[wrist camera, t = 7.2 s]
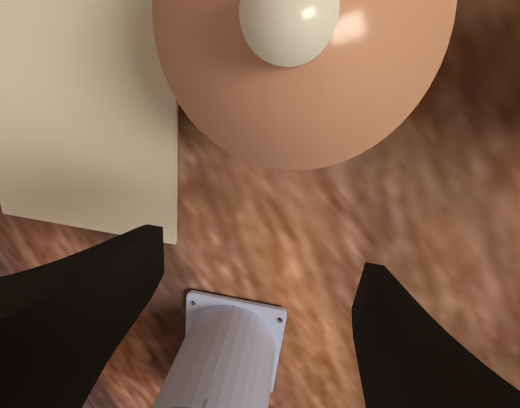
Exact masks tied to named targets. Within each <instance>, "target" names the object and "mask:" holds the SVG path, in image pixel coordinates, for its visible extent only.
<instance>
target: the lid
mask: <svg viewBox="0 0 520 408" xmlns="http://www.w3.org/2000/svg"><path fill="white" fill-rule="evenodd" d="M456 6H457V0H152V18H153V32H154V37H155V43H156V49H157V53H158V57H159V60H160V63H161V67H162V70H163V73H164V75H165V78H166V80H167V82H168V85H169V87H170V89H171V91H172V93H173V95H174V96H175V98H176V100H177V102H178V104H179V105H180V107H181V108H182V109H183V111H184V112H185V114H186V115H187V117H188V118H189V119H190V120H191V121H192V123H193V124H194V125H195V126H196V127H197V128H198V129H199V130H200V131H201V132H202V133H203V134H204V135H205V136H206V137H207V138H209V139H210V140H211V141H212V142H213V143H214V144H216V145H217V146H219V147H220V148H222V149H223V150H225V151H226V152H228V153H230V154H232V155H234V156H235V157H237V158H239V159H241V160H244V161H246V162H249V163H252V164H255V165H257V166H262V167H266V168H271V169H277V170H288V171H298V170H311V169H318V168H324V167H327V166H331V165H334V164H338V163H341V162H343V161H346V160H348V159H351V158H353V157H355V156H357V155H359V154H361V153H363V152H365V151H366V150H368V149H370V148H372V147H373V146H375V145H376V144H377V143H379V142H380V141H381V140H383V139H384V138H385V137H387V136H388V135H389V134H390V133H392V132H393V131H394V130H395V129H396V128H397V127H398V126H399V125H400V124H401V123H402V122H403V121H404V120H405V119H406V118H407V117H408V116H409V114H410V113H411V112H412V111H413V110H414V108H415V107H416V106H417V105H418V103H419V102H420V100H421V99H422V97H423V96H424V95H425V93H426V92H427V90H428V89H429V87H430V85H431V83H432V81H433V79H434V77H435V76H436V74H437V72H438V70H439V68H440V66H441V63H442V60H443V58H444V55H445V53H446V50H447V47H448V44H449V41H450V37H451V33H452V29H453V25H454V20H455V13H456Z"/></svg>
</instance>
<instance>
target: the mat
mask: <svg viewBox="0 0 520 408" xmlns="http://www.w3.org/2000/svg"><path fill="white" fill-rule="evenodd" d="M0 204H1V208H2V212H3V214H7V215H13V216H19V217H24V218H30V219H35V220H41V221H46V222H52V223H58V224H63V225H69V226H74V227H80V228H85V229H91V230H97V231H102V232H108V233H113V234H119V235H121V234H123V233H126V232H128V231H130V230H133V229H135V228H137V227H140V226H143V225H146V224H149V225H155V226H161V227H163V243H169V244H176V243H177V206H178V102H177V100H176V98H175V96H174V95H173V93H172V91H171V89H170V87H169V85H168V82H167V80H166V78H165V75H164V73H163V70H162V67H161V63H160V60H159V57H158V53H157V49H156V43H155V37H154V32H153V18H152V0H0Z"/></svg>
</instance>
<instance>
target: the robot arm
mask: <svg viewBox="0 0 520 408" xmlns="http://www.w3.org/2000/svg"><path fill="white" fill-rule="evenodd" d="M163 274H164V247H163V227H161V226H155V225H149V224H146V225H143V226H140V227H137V228H135V229H133V230H130V231H128V232H126V233H123V234H121V235H119V236H117V237H114V238H112V239H110V240H107V241H105V242H103V243H100V244H98V245H96V246H93V247H91V248H88V249H86V250H83V251H81V252H78V253H76V254H73V255H71V256H68V257H65V258H63V259H60V260H57V261H54V262H51V263H48V264H45V265H42V266H39V267H36V268H32V269H29V270H26V271H22V272H19V273H15V274H11V275H7V276H3V277H0V408H82V407H83V405H84V403H85V401H86V399H87V397H88V395H89V394H90V392H91V390H92V388H93V386H94V385H95V383H96V381H97V379H98V377H99V376H100V374H101V372H102V370H103V369H104V367H105V365H106V363H107V362H108V360H109V358H110V357H111V355H112V354H113V352H114V351H115V349H116V348H117V346H118V345H119V343H120V342H121V341H122V339H123V338H124V336H125V335H126V333H127V332H128V331H129V329H130V328H131V326H132V325H133V323H134V322H135V321H136V319H137V318H138V316H139V315H140V314H141V312H142V311H143V309H144V308H145V306H146V305H147V303H148V302H149V300H150V299H151V297H152V296H153V294H154V292H155V290H156V288H157V287H158V285H159V283H160V280H161V278H162V276H163ZM192 301H194V302H195V303H194V302H192ZM286 317H287V311H286V309H285V308H282V307H278V306H273V305H268V304H262V303H257V302H252V301H247V300H242V299H236V298H231V297H226V296H221V295H216V294H210V293H205V292H200V291H195V290H191V291H189V292H188V294H187V296H186V331H185V339H184V341H183V343H182V345H181V347H180V349H179V351H178V353H177V356H176V358H175V360H174V362H173V364H172V366H171V368H170V370H169V373H168V375H167V377H166V379H165V381H164V383H163V385H162V387H161V389H160V392H159V394H158V396H157V398H156V400H155V402H154V404H153V406H152V408H268V404H269V396H270V393H271V392H272V391H273V386H274V381H275V375H276V370H277V365H278V360H279V354H280V349H281V344H282V339H283V333H284V328H285V323H286ZM278 318H282V319H278ZM352 328H353V339H354V345H355V350H356V356H357V362H358V367H359V372H360V378H361V383H362V388H363V394H364V399H365V405H366V408H520V391H519V390H518V389H516V388H515V387H514V386H512V385H511V384H509V383H508V382H507V381H505V380H504V379H503V378H501V377H500V376H499V375H497V374H496V373H495V372H494V371H492V370H491V369H490V368H488V367H487V366H486V365H485V364H483V363H482V362H481V361H480V360H479V359H477V358H476V357H475V356H474V355H473V354H471V353H470V352H469V351H468V350H467V349H466V348H464V347H463V346H462V345H461V344H460V343H459V342H457V341H456V340H455V339H454V338H453V337H452V336H451V335H450V334H449V333H448V332H447V331H446V330H444V329H443V328H442V327H441V326H440V325H439V324H438V323H437V322H436V321H435V320H434V319H433V318H432V317H431V316H430V315H429V314H428V313H427V312H426V311H425V310H424V309H423V308H422V307H421V306H420V304H419V303H418V302H417V301H416V300H415V299H414V298H413V297H412V296H411V295H410V294H409V293H408V291H407V290H406V289H405V288H404V287H403V286H402V285H401V284H400V283H399V281H398V280H397V279H396V278H395V277H394V276H393V275H392V274H391V272H390V271H389V270H388V269H387V268H386V267H385V266H383V265H378V264H372V263H366V262H365V266H364V269H363V272H362V276H361V279H360V282H359V286H358V289H357V292H356V296H355V299H354V302H353V305H352Z"/></svg>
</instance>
